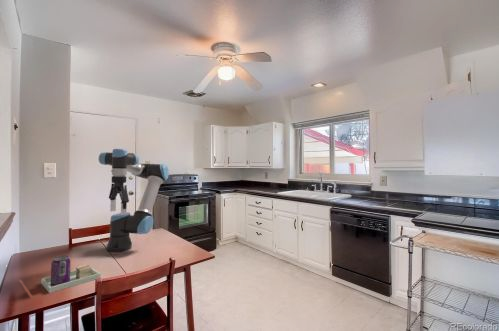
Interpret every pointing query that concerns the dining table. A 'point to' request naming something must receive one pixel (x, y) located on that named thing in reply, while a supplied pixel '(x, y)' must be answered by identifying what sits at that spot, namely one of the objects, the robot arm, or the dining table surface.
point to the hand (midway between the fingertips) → (118, 212)
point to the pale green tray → (73, 281)
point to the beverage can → (60, 270)
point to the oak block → (83, 271)
